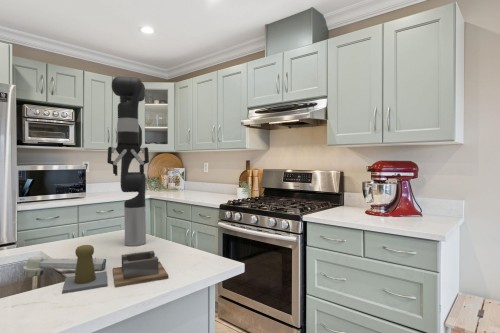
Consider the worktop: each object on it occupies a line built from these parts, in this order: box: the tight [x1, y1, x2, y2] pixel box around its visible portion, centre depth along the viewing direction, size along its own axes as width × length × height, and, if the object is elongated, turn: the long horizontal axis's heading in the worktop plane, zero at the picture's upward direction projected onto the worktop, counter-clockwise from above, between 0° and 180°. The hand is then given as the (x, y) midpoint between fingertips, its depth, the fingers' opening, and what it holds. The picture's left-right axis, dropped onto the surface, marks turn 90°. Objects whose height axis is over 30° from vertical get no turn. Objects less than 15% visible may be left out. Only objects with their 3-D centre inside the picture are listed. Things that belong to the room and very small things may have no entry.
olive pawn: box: [74, 244, 96, 284], centre depth 99 cm, size 6×6×11 cm
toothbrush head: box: [22, 256, 107, 278], centre depth 108 cm, size 5×7×25 cm
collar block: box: [112, 250, 169, 288], centre depth 106 cm, size 16×16×6 cm
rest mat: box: [61, 271, 109, 294], centre depth 99 cm, size 12×12×1 cm
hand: (128, 175), depth 116 cm, fingers open, 8 cm apart
